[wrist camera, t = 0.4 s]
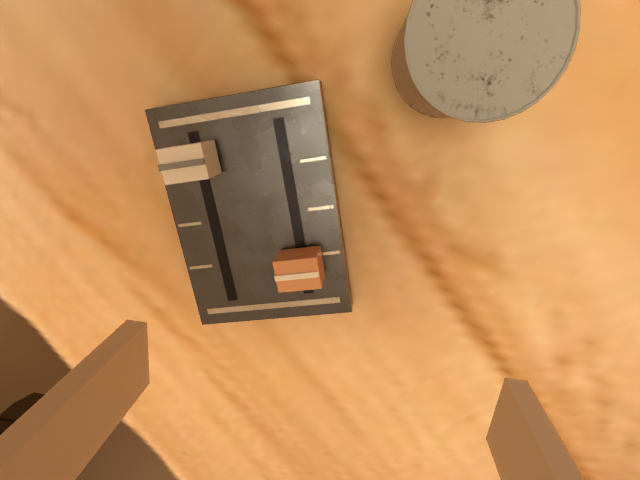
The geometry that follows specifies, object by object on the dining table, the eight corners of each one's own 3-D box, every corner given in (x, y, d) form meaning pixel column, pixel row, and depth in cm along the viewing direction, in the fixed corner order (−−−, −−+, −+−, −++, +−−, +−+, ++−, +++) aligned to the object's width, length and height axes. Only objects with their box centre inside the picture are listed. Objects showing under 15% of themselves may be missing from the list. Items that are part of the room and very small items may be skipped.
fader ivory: (172, 146, 37) (153, 150, 33) (214, 139, 36) (199, 143, 33) (181, 178, 38) (163, 185, 34) (221, 173, 37) (207, 179, 34)
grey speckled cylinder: (532, 43, 33) (621, 9, 22) (453, 139, 36) (494, 155, 25) (441, -31, 32) (484, -109, 21) (368, 74, 35) (370, 58, 24)
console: (155, 109, 38) (144, 109, 36) (321, 81, 36) (318, 79, 34) (209, 315, 45) (201, 325, 43) (352, 302, 42) (351, 312, 40)
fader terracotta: (279, 249, 39) (271, 263, 35) (320, 245, 38) (316, 258, 35) (285, 278, 40) (277, 294, 36) (325, 274, 39) (321, 290, 36)
